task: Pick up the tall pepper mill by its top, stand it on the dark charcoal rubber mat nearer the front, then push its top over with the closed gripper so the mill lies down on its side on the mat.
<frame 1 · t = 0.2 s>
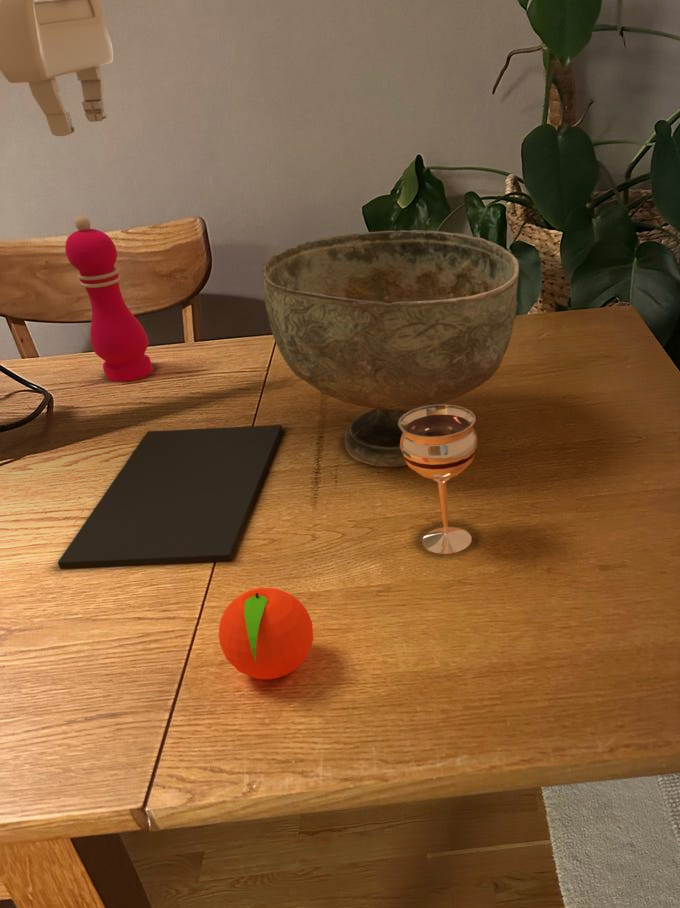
hand: (82, 127, 84), 31 cm above the table, tool pointing down, fingers open, 8 cm apart
decorative bowl: (407, 441, 96), on the table
clementine: (275, 674, 65), on the table
wineglass: (447, 542, 79), on the table
pepper mill: (130, 375, 116), on the table
mat: (185, 491, 88), on the table
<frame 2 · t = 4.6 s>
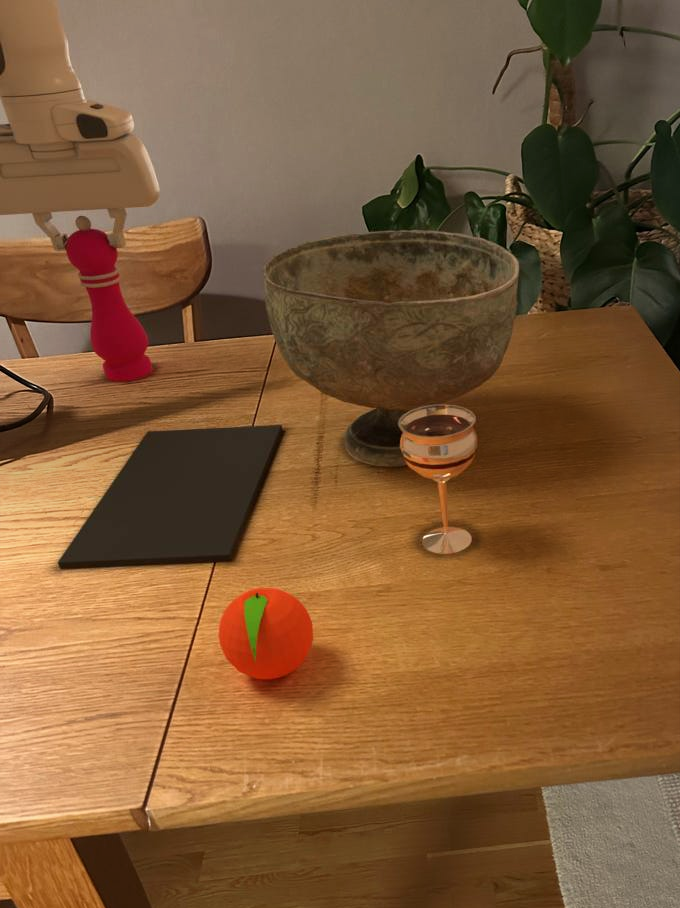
hand: (91, 248, 106), 16 cm above the table, tool pointing down, fingers closed on pepper mill, 6 cm apart
pepper mill: (130, 375, 116), on the table, touching gripper
everything else where it was.
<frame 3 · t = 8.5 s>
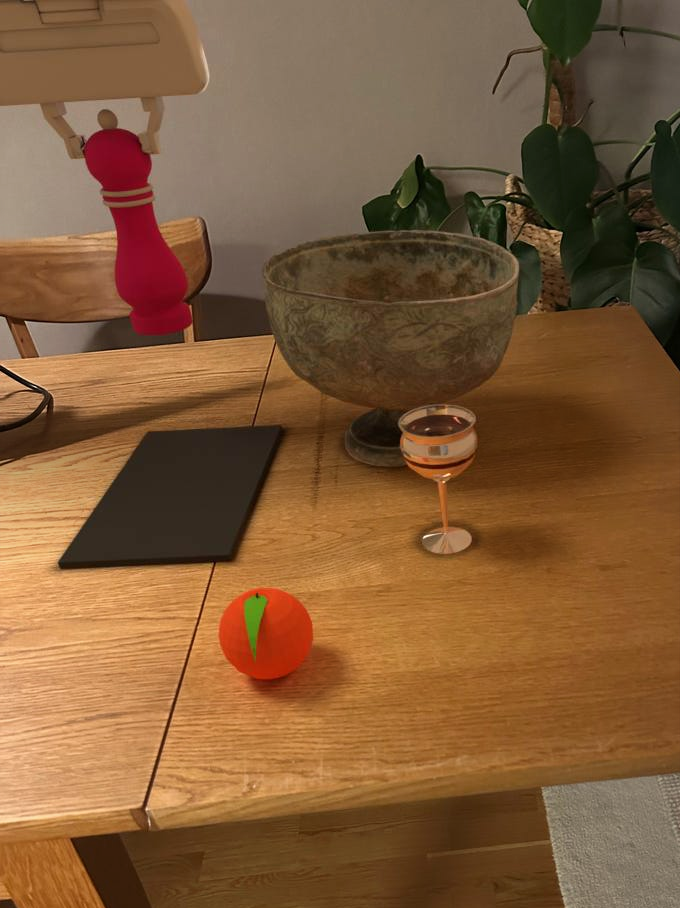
hand: (117, 155, 80), 29 cm above the table, tool pointing down, fingers closed on pepper mill, 6 cm apart
pepper mill: (164, 327, 91), point 13 cm above the table, touching gripper
everything else where it was.
when the fingers open (17 cm above the table, at t = 12.8 s): pepper mill stays where it is, resting on mat.
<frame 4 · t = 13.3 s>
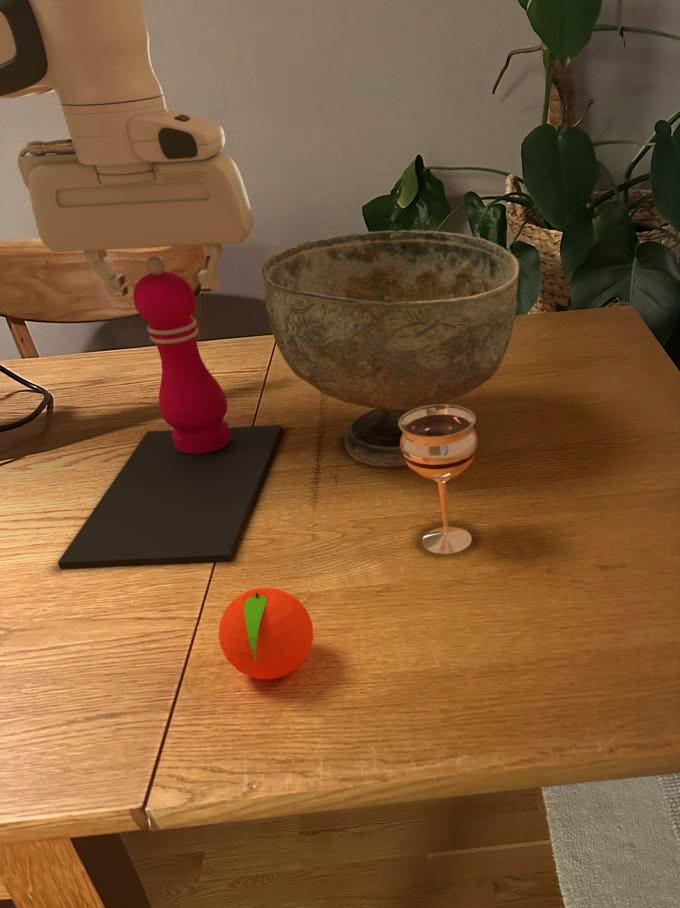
hand: (165, 292, 85), 17 cm above the table, tool pointing down, fingers open, 8 cm apart
pepper mill: (204, 444, 96), point 1 cm above the table, touching mat
everything else where it was.
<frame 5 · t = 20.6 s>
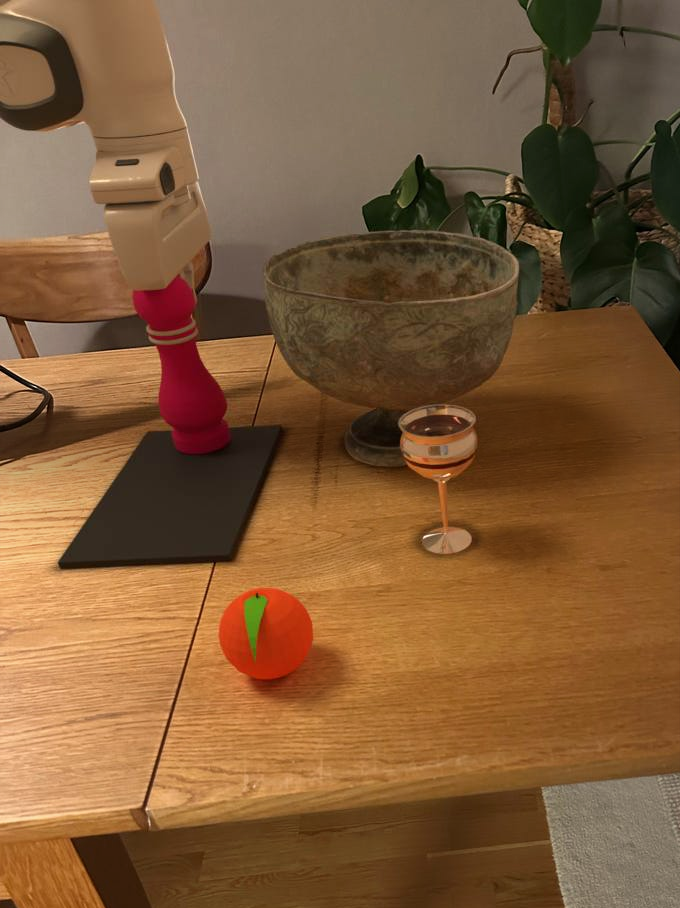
hand: (187, 308, 91), 14 cm above the table, tool pointing down, fingers closed
pepper mill: (204, 443, 96), point 1 cm above the table, touching gripper, mat
everything else where it was.
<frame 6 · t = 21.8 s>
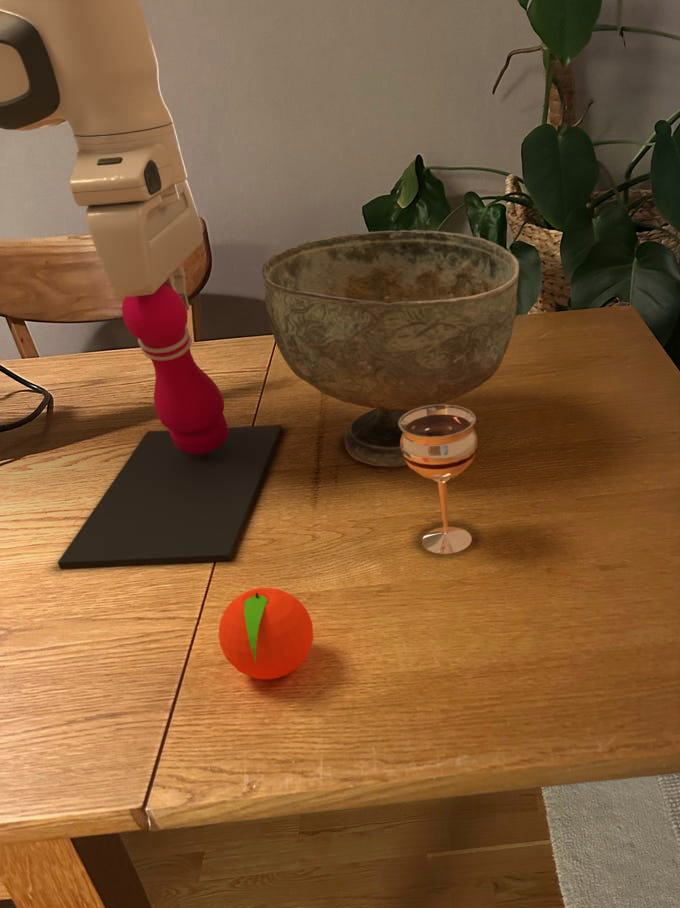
hand: (178, 315, 87), 15 cm above the table, tool pointing down, fingers closed
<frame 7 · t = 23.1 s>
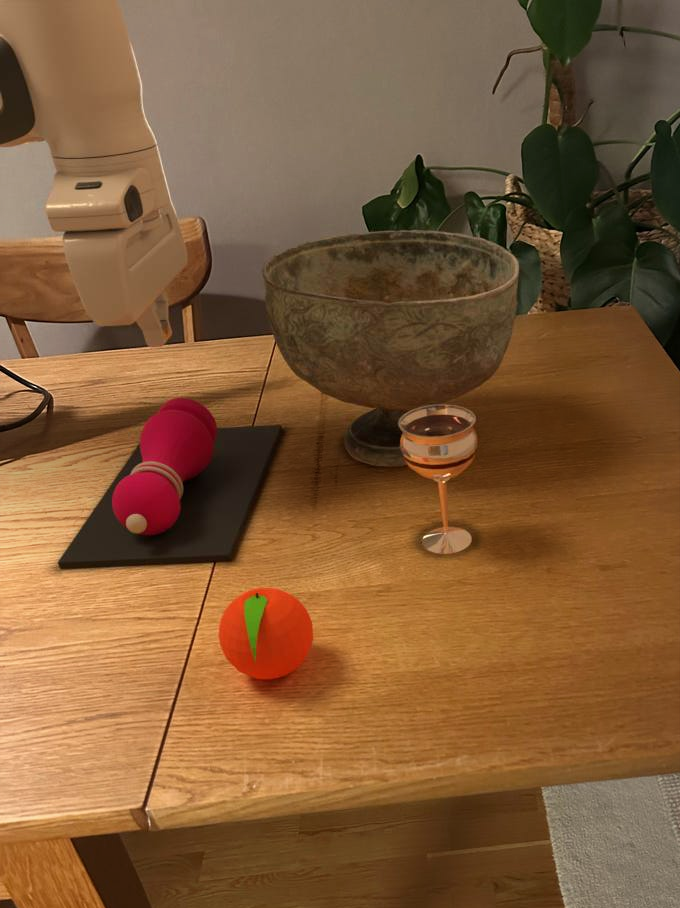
hand: (160, 341, 83), 14 cm above the table, tool pointing down, fingers closed
pepper mill: (188, 423, 91), point 5 cm above the table, touching mat
everything else where it was.
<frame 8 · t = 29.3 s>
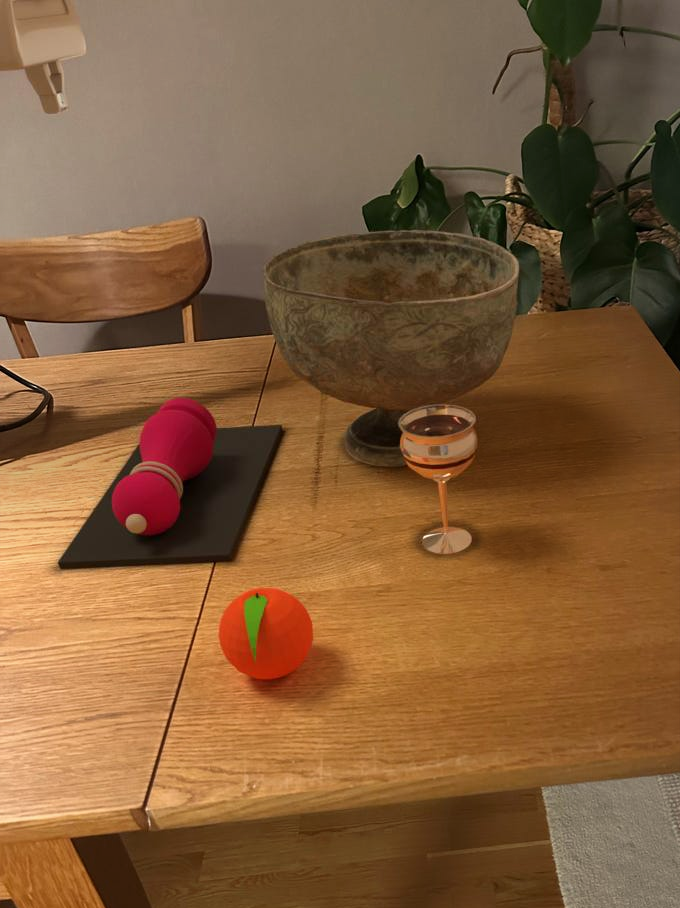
hand: (57, 112, 95), 31 cm above the table, tool pointing down, fingers closed
nothing on the table moved.
at the end: pepper mill tilted 93°; pepper mill inside the target area on the mat (6.8 cm from its centre), point 4.6 cm above the mat's base; the gripper is holding nothing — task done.
